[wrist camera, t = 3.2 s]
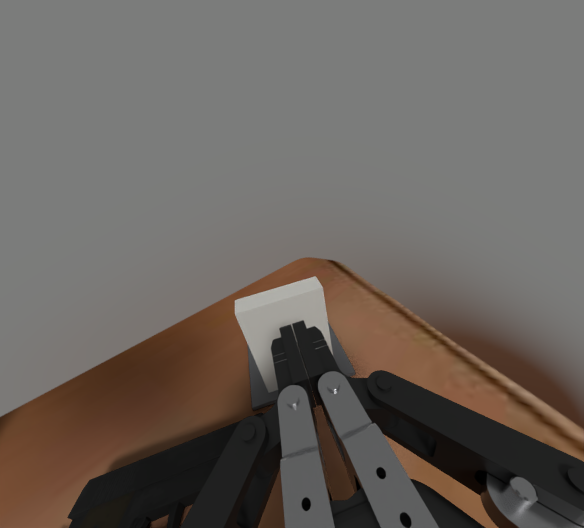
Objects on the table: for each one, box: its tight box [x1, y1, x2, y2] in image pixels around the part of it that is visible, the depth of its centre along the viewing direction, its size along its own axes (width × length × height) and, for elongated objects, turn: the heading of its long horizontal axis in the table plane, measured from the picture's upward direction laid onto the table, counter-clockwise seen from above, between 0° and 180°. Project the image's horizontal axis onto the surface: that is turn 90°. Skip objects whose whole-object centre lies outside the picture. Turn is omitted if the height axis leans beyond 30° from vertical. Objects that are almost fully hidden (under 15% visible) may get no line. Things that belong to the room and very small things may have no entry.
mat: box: [248, 322, 355, 411], centre depth 32 cm, size 16×12×1 cm
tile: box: [235, 276, 333, 393], centre depth 23 cm, size 2×8×12 cm, turn 103°
